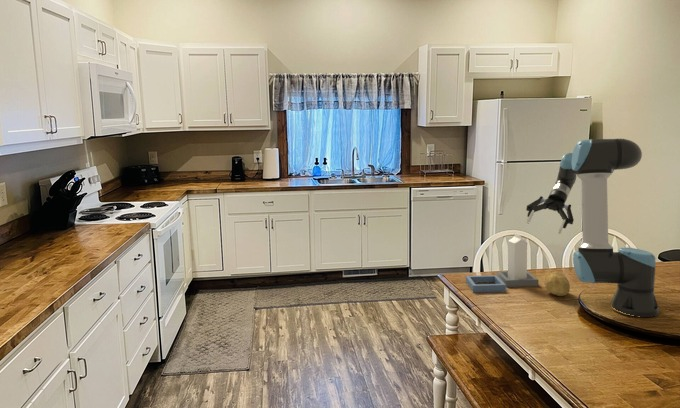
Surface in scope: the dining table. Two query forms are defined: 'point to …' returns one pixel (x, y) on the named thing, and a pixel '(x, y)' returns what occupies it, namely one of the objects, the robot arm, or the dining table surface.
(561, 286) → the potato
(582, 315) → the dining table surface
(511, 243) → the milk
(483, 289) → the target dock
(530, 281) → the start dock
